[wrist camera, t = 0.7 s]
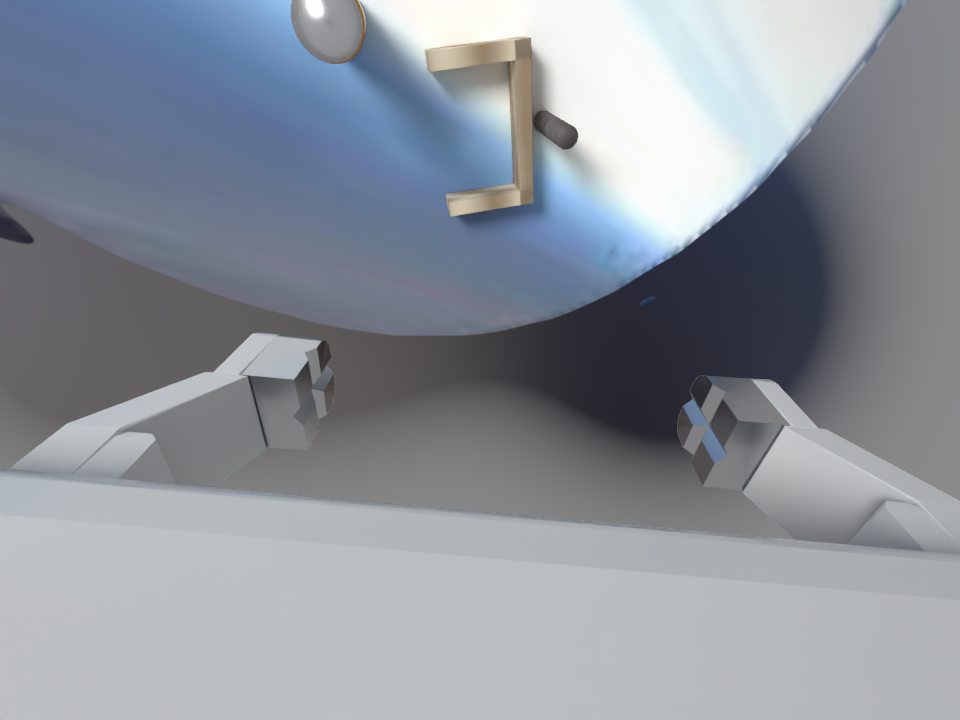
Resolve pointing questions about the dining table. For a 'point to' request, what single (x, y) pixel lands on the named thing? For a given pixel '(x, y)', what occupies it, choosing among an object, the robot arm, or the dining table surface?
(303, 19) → the silver metal cylinder
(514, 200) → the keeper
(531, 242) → the dining table surface
